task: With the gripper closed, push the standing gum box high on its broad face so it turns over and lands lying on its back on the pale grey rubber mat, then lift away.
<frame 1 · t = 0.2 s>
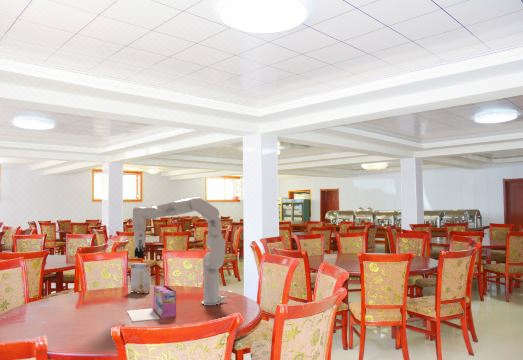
hand: (138, 257, 245), 31 cm above the table, tool pointing down, fingers open, 9 cm apart
cracker box: (140, 292, 301), on the table
mat: (142, 315, 233), on the table
gum box: (164, 313, 237), on the table
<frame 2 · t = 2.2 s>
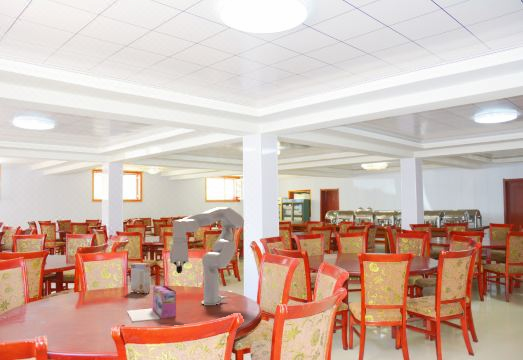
hand: (179, 273, 243), 22 cm above the table, tool pointing down, fingers closed
nothing on the table moved.
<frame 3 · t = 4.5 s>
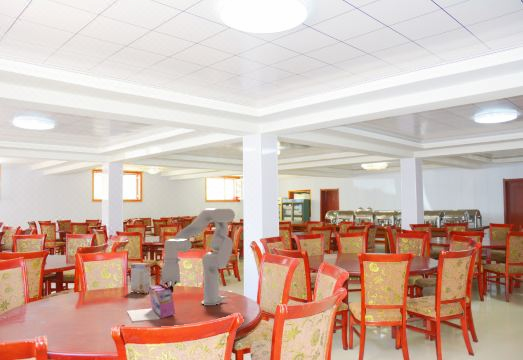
hand: (170, 293, 240), 11 cm above the table, tool pointing down, fingers closed
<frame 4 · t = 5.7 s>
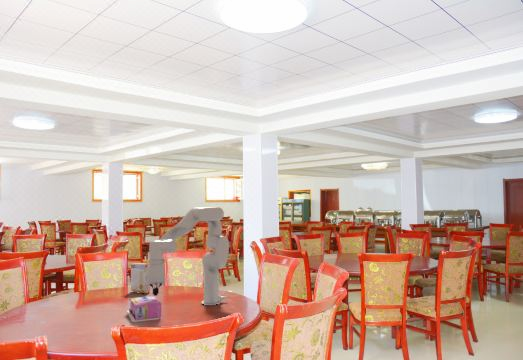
hand: (155, 295, 236), 10 cm above the table, tool pointing down, fingers closed
gum box: (157, 305, 236), point 4 cm above the table, touching mat
everything else where it was.
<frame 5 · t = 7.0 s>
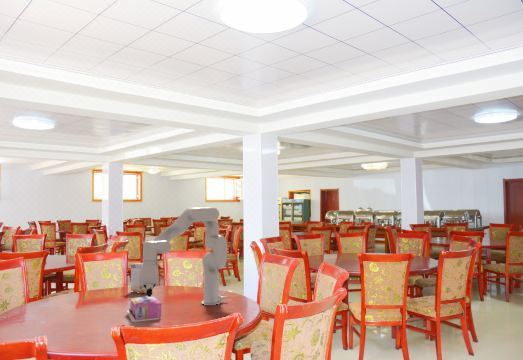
hand: (149, 296, 235), 10 cm above the table, tool pointing down, fingers closed
nothing on the table moved.
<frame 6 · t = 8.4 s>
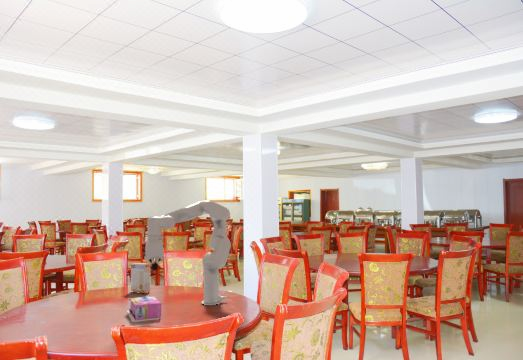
hand: (154, 270, 241), 24 cm above the table, tool pointing down, fingers closed
nothing on the table moved.
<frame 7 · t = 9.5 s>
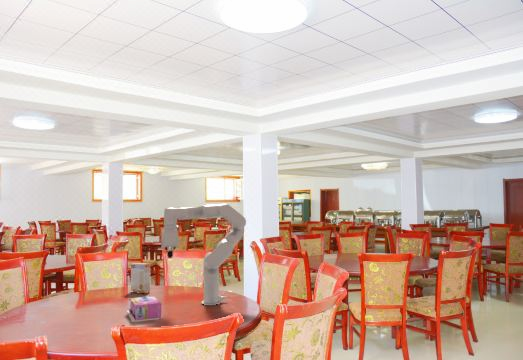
hand: (170, 257, 258), 29 cm above the table, tool pointing down, fingers closed
nothing on the table moved.
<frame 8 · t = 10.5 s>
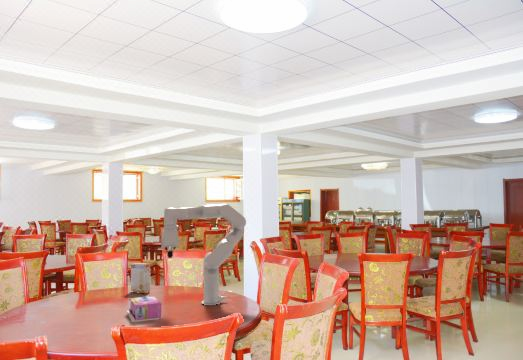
hand: (170, 257, 258), 29 cm above the table, tool pointing down, fingers closed
nothing on the table moved.
at the end: gum box tilted 90°; gum box inside the target area (5.0 cm from its centre), point 4.4 cm above the table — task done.
